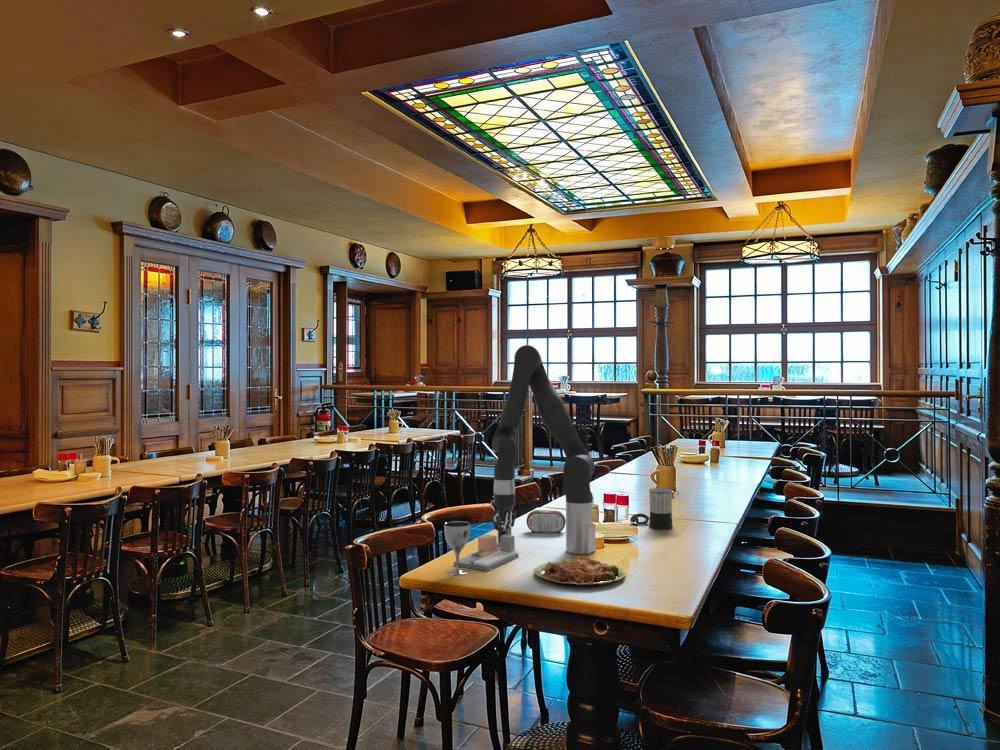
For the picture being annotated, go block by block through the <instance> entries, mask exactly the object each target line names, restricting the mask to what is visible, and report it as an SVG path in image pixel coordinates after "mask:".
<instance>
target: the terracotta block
mask: <svg viewBox="0 0 1000 750" xmlns="http://www.w3.org/2000/svg"><path fill="white" fill-rule="evenodd" d="M497 542H498V535H492V534H483V535H481V536H478V537H477V550H478V551H484V552H491V551H494V550H496V549H497Z"/></svg>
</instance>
